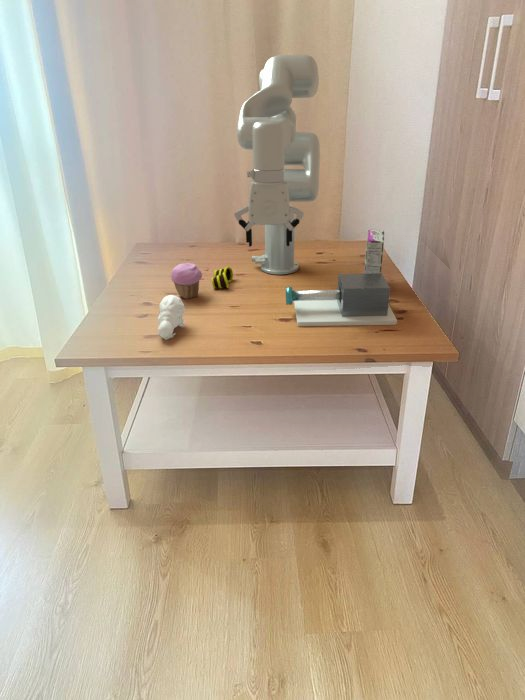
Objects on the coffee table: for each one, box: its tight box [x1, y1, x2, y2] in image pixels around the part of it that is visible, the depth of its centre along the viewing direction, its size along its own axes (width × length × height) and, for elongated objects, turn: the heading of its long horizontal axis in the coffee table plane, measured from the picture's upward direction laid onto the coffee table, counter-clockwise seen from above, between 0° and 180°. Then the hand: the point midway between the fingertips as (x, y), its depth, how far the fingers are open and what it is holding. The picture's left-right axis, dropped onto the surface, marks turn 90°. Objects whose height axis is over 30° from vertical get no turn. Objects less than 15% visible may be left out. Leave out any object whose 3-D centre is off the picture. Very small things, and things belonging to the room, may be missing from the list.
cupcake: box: [170, 262, 203, 300], centre depth 157 cm, size 9×9×10 cm
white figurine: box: [157, 294, 185, 341], centre depth 137 cm, size 6×8×12 cm
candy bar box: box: [363, 229, 385, 274], centre depth 159 cm, size 11×5×16 cm, turn 168°
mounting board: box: [293, 300, 398, 327], centre depth 148 cm, size 26×16×1 cm, turn 91°
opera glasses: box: [211, 266, 234, 290], centre depth 166 cm, size 10×5×5 cm, turn 174°
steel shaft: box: [285, 286, 342, 306], centre depth 145 cm, size 23×5×5 cm, turn 91°
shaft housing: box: [337, 272, 391, 317], centre depth 145 cm, size 12×10×8 cm
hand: (269, 244), depth 139 cm, fingers open, 9 cm apart
